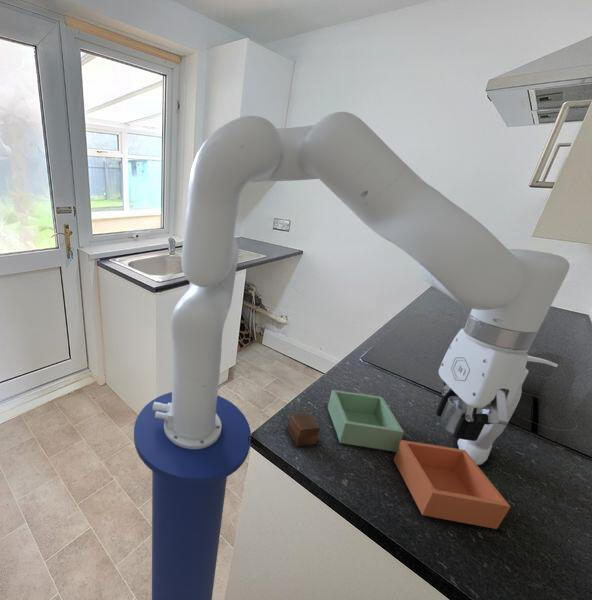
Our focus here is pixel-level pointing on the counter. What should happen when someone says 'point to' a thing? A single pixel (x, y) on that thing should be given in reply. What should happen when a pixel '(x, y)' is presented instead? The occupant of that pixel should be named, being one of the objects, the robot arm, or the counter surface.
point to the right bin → (449, 485)
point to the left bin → (364, 421)
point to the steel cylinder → (454, 413)
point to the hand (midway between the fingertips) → (455, 426)
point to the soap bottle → (494, 425)
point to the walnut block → (303, 429)
